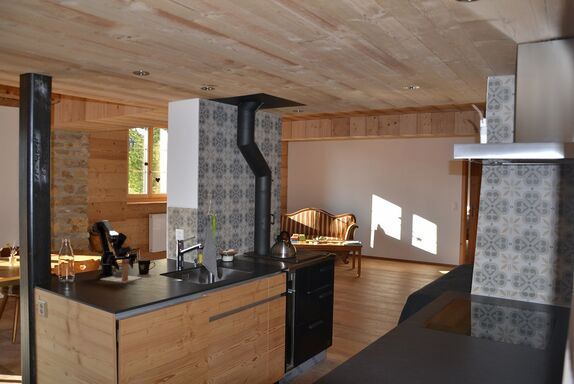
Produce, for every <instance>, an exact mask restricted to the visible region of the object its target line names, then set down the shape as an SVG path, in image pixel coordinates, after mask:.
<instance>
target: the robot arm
mask: <svg viewBox="0 0 574 384" xmlns="http://www.w3.org/2000/svg"><path fill="white" fill-rule="evenodd" d="M93 228H94V231H95V233H96V234H97V235H98V237H99V243H100V247H101V251H102V254H101V257H100V260H99V263H98V264H99V266H100V267H101V269H100V271H101V273H99V275H101V276H102V275H103V276H109V275H113V273H114V272H113V267H114V268H115V269H118V270H119V267H120V266H119V264H118V261H122V260H129V263H128V265H129V266H130V268H131V269H132V270H133V268H134V262H135V261H136V259H137V257H138V254H137V253H130V252H131V251H132V248H131V246H129V245H128V246H124V245H125V242H127V241H126V240H127V239H128V238H127V235H125V234H124V233H122V232H117V231H115V230H114V227H112V224H111V222H110V221H109V220H100V221H95V222H94V223H93ZM109 244H112V246H111V249H112V250H111V249H110V245H109ZM123 246H124V247H123ZM128 253H130V254H129V255H128Z"/></svg>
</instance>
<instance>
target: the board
mask: <svg viewBox="0 0 574 384" xmlns="http://www.w3.org/2000/svg"><path fill="white" fill-rule="evenodd" d="M112 273H113V274H112V276H107V277H103V278H100V281H107V282H112V283H113V282H114V283H121V284H127V283H130V282H133V281H134V282H135V281H136V280H141V279H143V277H140V276H133V275H128V280H127V281H122V273H116V271H114V272H112Z"/></svg>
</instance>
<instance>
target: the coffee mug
mask: <svg viewBox="0 0 574 384" xmlns="http://www.w3.org/2000/svg"><path fill="white" fill-rule="evenodd" d="M152 263H153V264H154V265H153V266H152V267H151V266H150V265H151V264H152ZM137 265H138V275H142V276H144V275H149V273H150V270H152V269H153V268H154V267H155V266H156V262H155V261H151V259H150V258H138V259H137ZM150 267H151V268H150Z"/></svg>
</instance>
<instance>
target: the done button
mask: <svg viewBox="0 0 574 384" xmlns="http://www.w3.org/2000/svg"><path fill="white" fill-rule="evenodd" d="M115 269H116V268H115ZM115 272H116V273H122V266H121V267H120V266H119V270H118V269H116V271H115Z"/></svg>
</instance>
